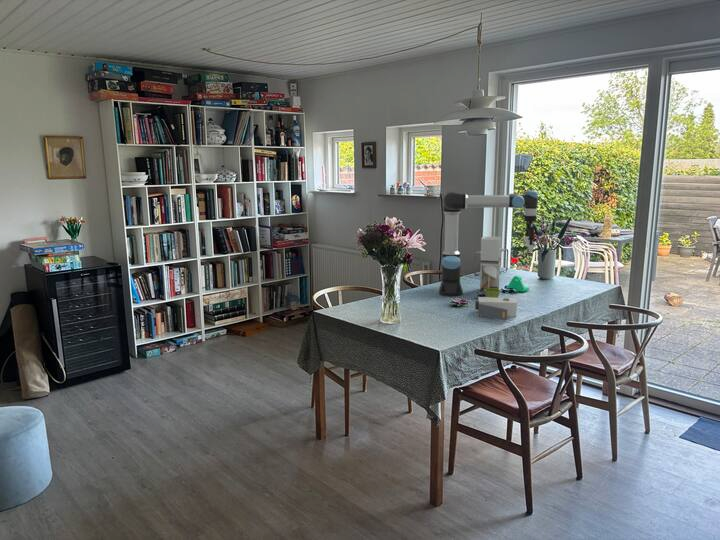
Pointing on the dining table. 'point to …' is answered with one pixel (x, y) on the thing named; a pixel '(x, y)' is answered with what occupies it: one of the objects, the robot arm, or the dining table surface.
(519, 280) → the camera mount
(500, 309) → the side door
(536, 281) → the dining table surface
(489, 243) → the display case
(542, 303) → the dining table surface
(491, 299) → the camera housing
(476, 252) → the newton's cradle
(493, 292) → the plant pot
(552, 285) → the dining table surface
